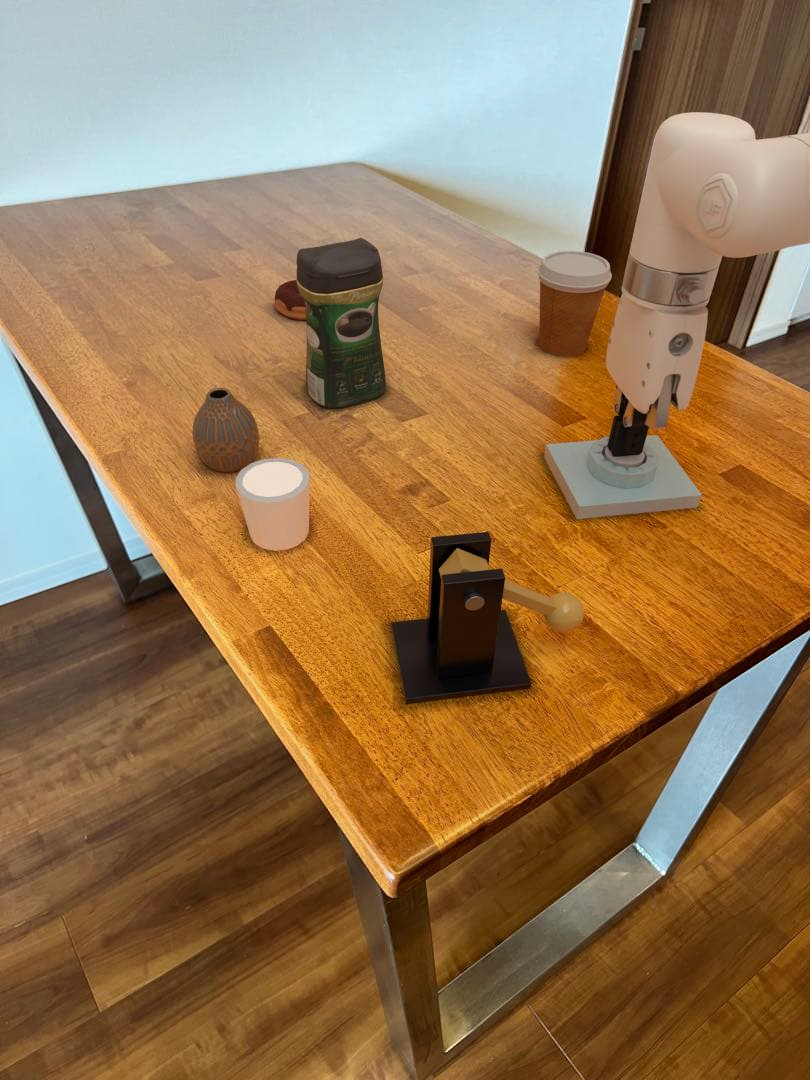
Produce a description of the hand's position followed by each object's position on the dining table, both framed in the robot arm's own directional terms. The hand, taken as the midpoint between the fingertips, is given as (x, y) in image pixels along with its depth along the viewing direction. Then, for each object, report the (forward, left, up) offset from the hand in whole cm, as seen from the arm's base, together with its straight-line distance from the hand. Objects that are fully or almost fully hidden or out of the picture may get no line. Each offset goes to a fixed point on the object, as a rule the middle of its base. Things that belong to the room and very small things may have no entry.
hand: (623, 451), depth 76 cm
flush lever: (+19, +21, +2) cm, 28 cm away
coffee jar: (+27, -23, -5) cm, 36 cm away
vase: (+41, -10, -5) cm, 42 cm away
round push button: (0, 0, -2) cm, 2 cm away
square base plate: (0, 0, -4) cm, 4 cm away
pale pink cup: (+36, +3, -5) cm, 36 cm away
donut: (+30, -48, -5) cm, 57 cm away
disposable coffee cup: (-4, -31, -5) cm, 31 cm away
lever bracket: (+22, +21, -4) cm, 31 cm away
